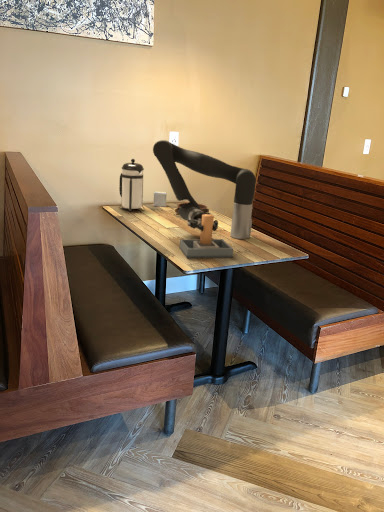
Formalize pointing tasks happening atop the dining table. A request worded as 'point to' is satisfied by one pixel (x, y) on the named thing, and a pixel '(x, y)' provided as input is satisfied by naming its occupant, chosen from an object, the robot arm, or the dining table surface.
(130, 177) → the coffee press
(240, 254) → the dining table surface
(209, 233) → the rounded orange object
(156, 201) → the medicine box
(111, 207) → the dining table surface
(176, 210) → the dish
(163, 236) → the dining table surface
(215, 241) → the walled box
